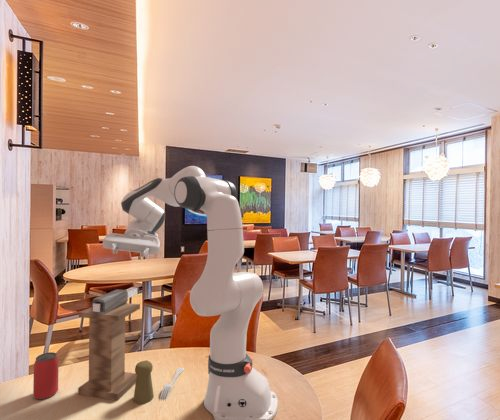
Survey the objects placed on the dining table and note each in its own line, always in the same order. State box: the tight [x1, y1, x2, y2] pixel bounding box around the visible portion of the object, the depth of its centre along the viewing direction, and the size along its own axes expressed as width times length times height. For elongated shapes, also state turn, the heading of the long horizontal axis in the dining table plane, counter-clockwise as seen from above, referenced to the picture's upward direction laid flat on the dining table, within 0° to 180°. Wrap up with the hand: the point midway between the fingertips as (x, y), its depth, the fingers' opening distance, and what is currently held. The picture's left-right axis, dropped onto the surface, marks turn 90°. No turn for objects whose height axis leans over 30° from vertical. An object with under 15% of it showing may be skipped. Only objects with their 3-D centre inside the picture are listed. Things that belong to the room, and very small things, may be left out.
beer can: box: [32, 351, 60, 400], centre depth 99 cm, size 7×7×12 cm
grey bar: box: [93, 286, 140, 312], centre depth 107 cm, size 2×22×2 cm, turn 168°
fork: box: [159, 367, 185, 402], centre depth 106 cm, size 3×21×3 cm, turn 176°
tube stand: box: [77, 289, 141, 401], centre depth 103 cm, size 14×12×31 cm
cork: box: [132, 360, 154, 405], centre depth 97 cm, size 6×6×11 cm
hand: (128, 253), depth 112 cm, fingers open, 8 cm apart
